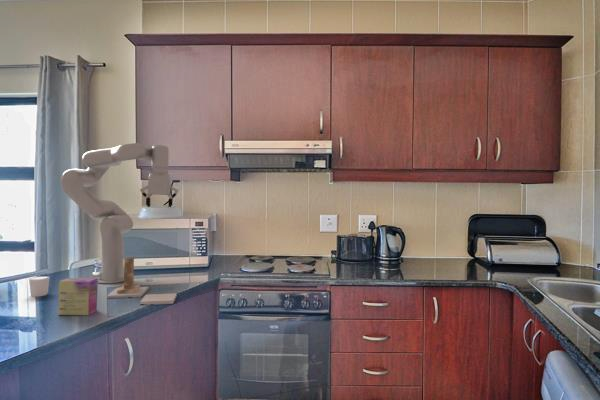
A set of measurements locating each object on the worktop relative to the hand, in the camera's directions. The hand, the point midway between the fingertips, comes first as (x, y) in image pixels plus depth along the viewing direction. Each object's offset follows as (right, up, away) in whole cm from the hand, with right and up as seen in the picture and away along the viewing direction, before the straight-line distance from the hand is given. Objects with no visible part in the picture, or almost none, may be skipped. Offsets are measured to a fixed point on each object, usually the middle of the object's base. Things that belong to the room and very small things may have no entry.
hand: (159, 206), depth 170 cm
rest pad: (-5, -36, -20) cm, 42 cm away
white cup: (-40, -36, -24) cm, 59 cm away
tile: (+6, -36, -30) cm, 47 cm away
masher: (-5, -35, -20) cm, 41 cm away
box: (-11, -37, -45) cm, 59 cm away
